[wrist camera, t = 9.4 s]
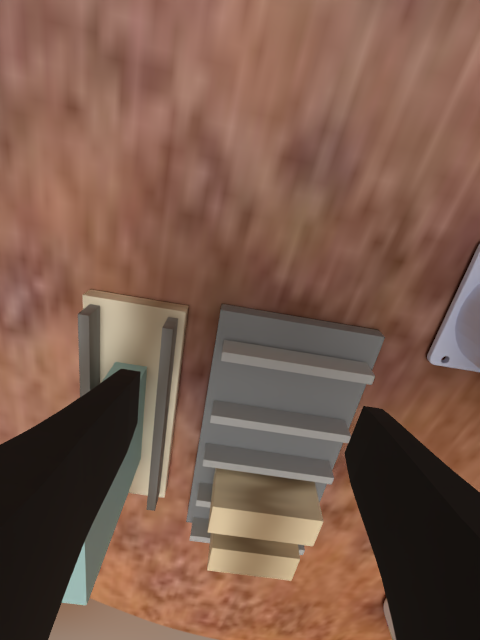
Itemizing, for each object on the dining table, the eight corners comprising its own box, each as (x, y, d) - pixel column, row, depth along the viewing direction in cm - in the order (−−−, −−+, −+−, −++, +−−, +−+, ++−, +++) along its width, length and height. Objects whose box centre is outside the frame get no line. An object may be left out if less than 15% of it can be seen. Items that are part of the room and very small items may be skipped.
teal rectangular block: (140, 458, 24) (86, 605, 16) (113, 454, 24) (44, 600, 16) (147, 366, 21) (83, 491, 13) (115, 361, 21) (30, 484, 13)
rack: (378, 330, 21) (395, 349, 18) (303, 525, 28) (308, 556, 26) (221, 303, 20) (218, 320, 18) (188, 510, 28) (183, 540, 26)
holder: (188, 305, 20) (181, 322, 18) (167, 486, 27) (159, 515, 24) (90, 289, 20) (70, 304, 18) (92, 476, 26) (78, 505, 24)
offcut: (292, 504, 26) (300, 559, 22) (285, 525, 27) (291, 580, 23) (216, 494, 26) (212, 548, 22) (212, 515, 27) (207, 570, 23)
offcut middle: (311, 469, 24) (323, 521, 21) (303, 492, 25) (312, 546, 22) (217, 455, 24) (212, 506, 20) (213, 479, 25) (207, 532, 21)
